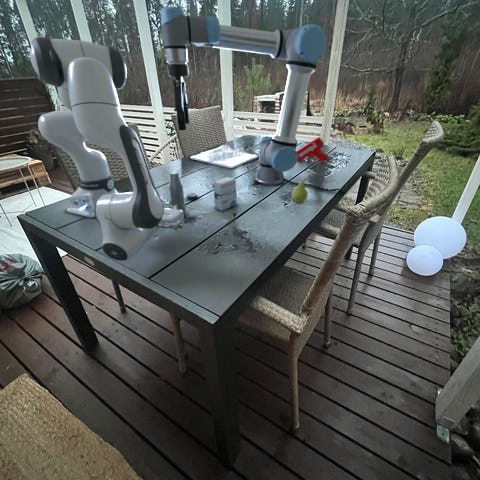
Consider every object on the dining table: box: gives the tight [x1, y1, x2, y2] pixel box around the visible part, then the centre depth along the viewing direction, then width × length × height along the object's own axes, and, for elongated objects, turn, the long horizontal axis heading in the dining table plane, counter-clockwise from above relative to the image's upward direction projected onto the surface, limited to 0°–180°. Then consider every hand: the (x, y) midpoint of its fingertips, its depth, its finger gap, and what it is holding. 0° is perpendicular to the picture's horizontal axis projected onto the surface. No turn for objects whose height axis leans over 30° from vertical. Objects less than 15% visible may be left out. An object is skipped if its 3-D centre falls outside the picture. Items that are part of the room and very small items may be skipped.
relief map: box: [190, 144, 259, 169], centre depth 178 cm, size 27×35×5 cm
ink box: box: [212, 176, 237, 211], centre depth 115 cm, size 8×5×12 cm, turn 135°
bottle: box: [168, 170, 187, 218], centre depth 107 cm, size 5×5×18 cm
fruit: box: [291, 174, 311, 204], centre depth 118 cm, size 7×8×12 cm
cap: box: [186, 192, 198, 201], centre depth 125 cm, size 4×4×2 cm
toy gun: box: [296, 136, 329, 164], centre depth 170 cm, size 18×4×15 cm
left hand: (163, 205), depth 97 cm, fingers open, 8 cm apart
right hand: (184, 126), depth 109 cm, fingers open, 13 cm apart
